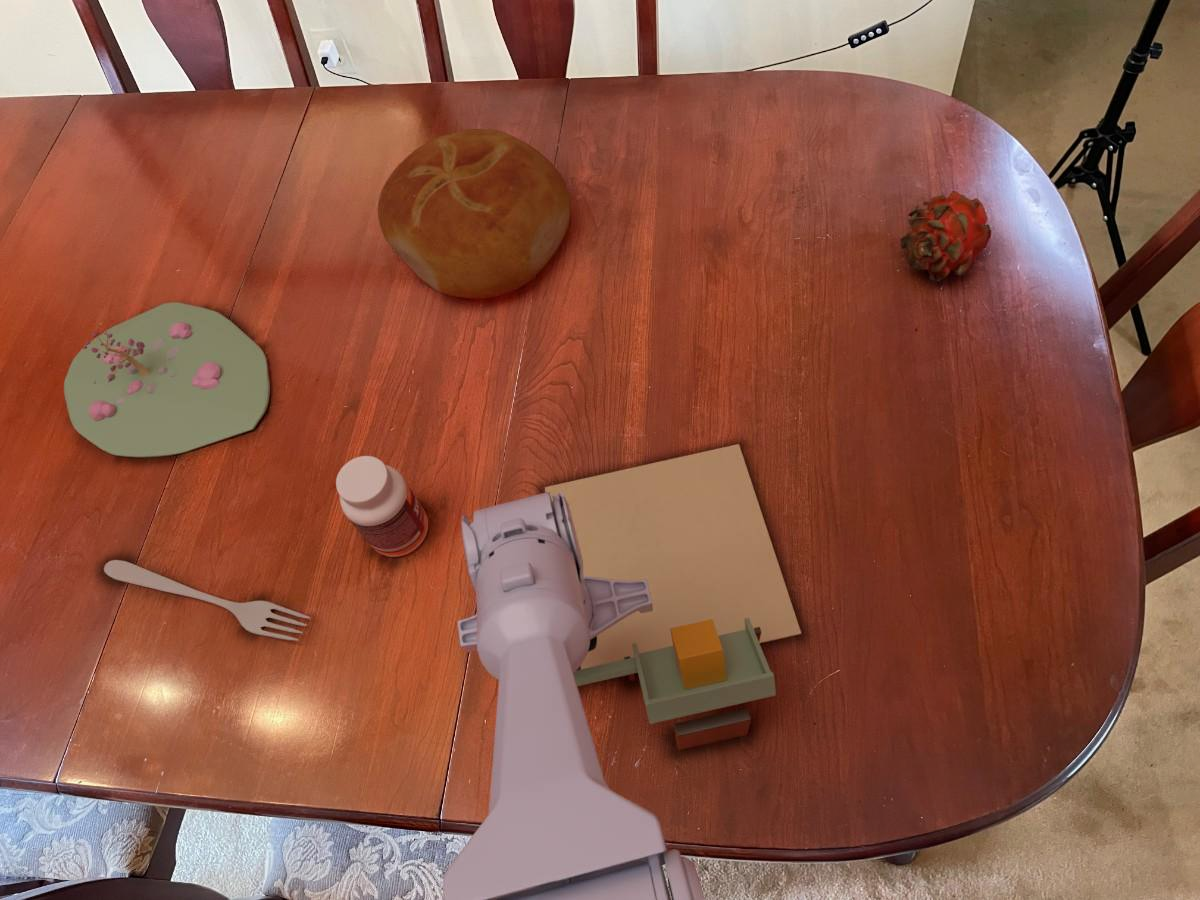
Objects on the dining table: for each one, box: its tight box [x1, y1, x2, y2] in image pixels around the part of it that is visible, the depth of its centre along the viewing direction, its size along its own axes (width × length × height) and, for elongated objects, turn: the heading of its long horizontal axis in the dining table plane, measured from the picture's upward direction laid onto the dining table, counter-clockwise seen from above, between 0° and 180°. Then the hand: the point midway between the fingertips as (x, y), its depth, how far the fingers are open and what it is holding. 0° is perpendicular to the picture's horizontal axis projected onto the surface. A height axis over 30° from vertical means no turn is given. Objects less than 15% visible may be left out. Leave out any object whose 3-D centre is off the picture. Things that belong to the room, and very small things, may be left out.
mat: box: [544, 443, 802, 669], centre depth 80 cm, size 20×20×1 cm
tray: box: [573, 618, 777, 725], centre depth 67 cm, size 10×16×2 cm, turn 101°
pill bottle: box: [335, 455, 429, 558], centre depth 80 cm, size 6×6×11 cm
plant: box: [63, 301, 271, 459], centre depth 93 cm, size 25×21×9 cm
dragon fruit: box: [899, 190, 992, 283], centre depth 92 cm, size 8×8×12 cm
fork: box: [103, 559, 312, 642], centre depth 82 cm, size 3×24×2 cm, turn 71°
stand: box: [624, 627, 761, 751], centre depth 71 cm, size 7×12×6 cm, turn 101°
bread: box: [377, 128, 572, 300], centre depth 99 cm, size 23×23×10 cm
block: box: [670, 619, 727, 690], centre depth 66 cm, size 3×3×3 cm
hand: (569, 643), depth 71 cm, fingers closed, pressing on tray
